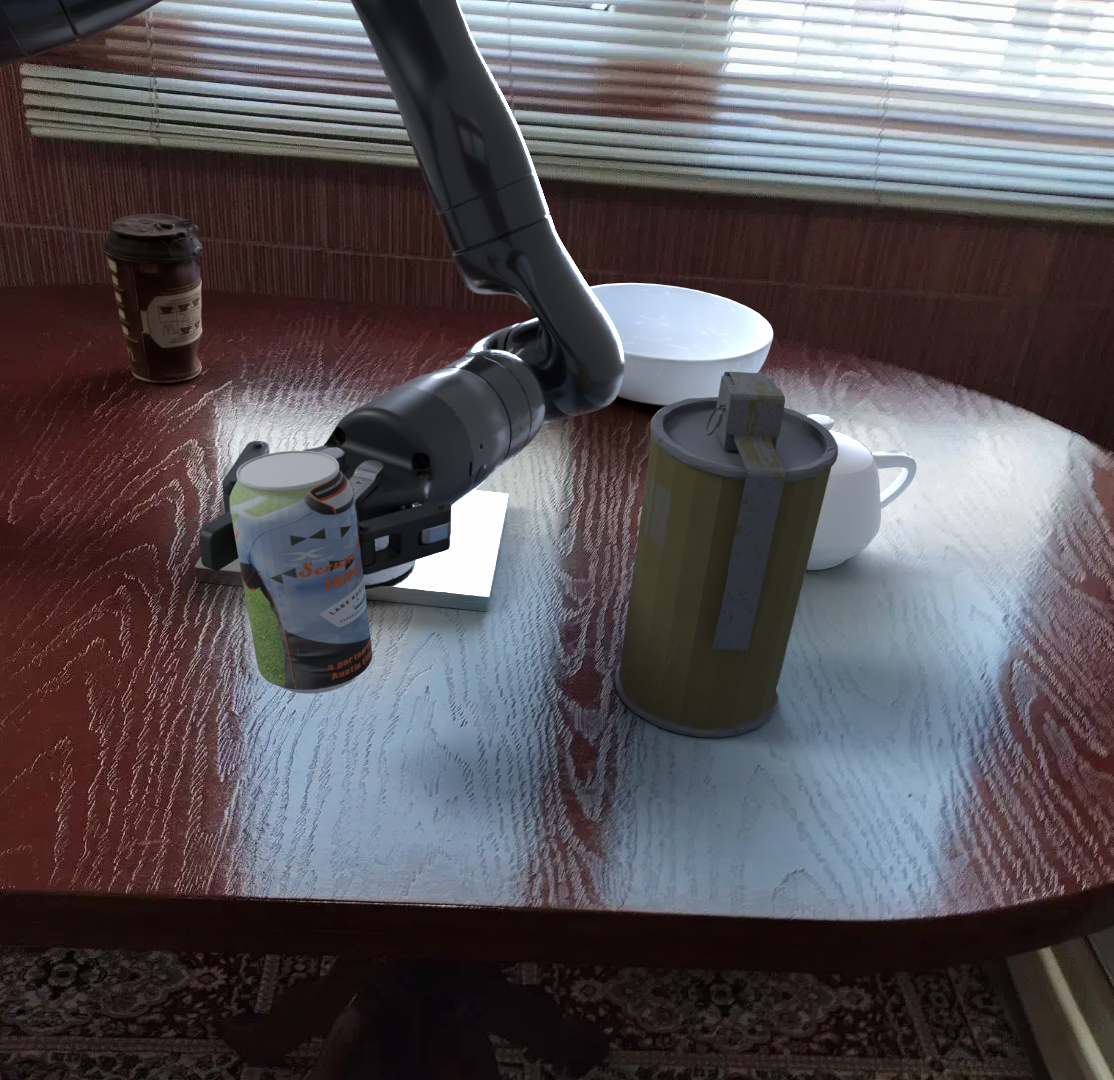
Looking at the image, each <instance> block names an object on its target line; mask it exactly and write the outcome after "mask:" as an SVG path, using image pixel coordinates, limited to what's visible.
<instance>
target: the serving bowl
mask: <svg viewBox="0 0 1114 1080" xmlns="http://www.w3.org/2000/svg"><path fill="white" fill-rule="evenodd" d="M589 288H590V289H591V291H592V292H593V294H594V295H595V297H596V298H597V299H598V301H599V302H600V304H601V305H602V307H603V308H604V310H605V311H606V313H607V315H608V316H609V318H610V320H611V321H612V323H613V325H614V327H615V329H616V331H617V333H618V335H619V338H620V341H621V345H622V348H623V352H624V360H625V372H624V380H623V384H622V387H621V390H620V392H619V394H618V396H617V397H619V398H621V399H626V400H629V401H633V402H638V403H642V404H648V405H656V406H667V405H670V404H673V403H676V402H679V401H682V400H685V399H688V398H707V397H718V395H719V389H720V383H721V378H722V376H724V373H725V372H746V373H760V370H761V369H762V367H763V365H764V364H765V362H766V359H767V357H768V356H769V355H768V354H769V352H770V349H771V346H772V344H773V343H772V342H773V340H774V330H773V327H772V325H771V324H770V323H769V321H768V320H767V319H766V318H765V317H764V316H762V315H761V314H760V313H759V312H757V311H755V310H753V309H752V308H750V307H748V306H746V305H744V304H741V303H739V302H737V301H734V300H732V299H730V298H727V297H723V296H720V295H717V294H713V293H709V292H705V291H702V290H701V291H700V290H697V289H691V288H686V287H680V286H674V285H666V284H656V283H637V282H626V283H625V282H623V283H605V284H598V285H592V286H589Z"/></svg>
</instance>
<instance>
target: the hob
mask: <svg viewBox="0 0 1114 1080" xmlns="http://www.w3.org/2000/svg"><path fill="white" fill-rule="evenodd" d="M509 497H510V495H509V493H503V492H495V491H494V492H493V491H483V490H477V489H475V490H473V491H472V492H471V493H469V494H468V495H466V496H465V497H463V498H462V499H461V500H459V501H458V502H456V503H455V504H454V505H452V514H451V518H452V525H451V537H450V549H449V550H447V551H444V552H441V553H438V554H434V555H431V556H428V557H425V558H421V559H418V560H415V561H411V562H408V563H405V564H402V565H398V566H395V567H392V568H388V569H385V570H382V571H379V572H375V573H372V574H368V575H363V576H364V585H365V594H366V600H370V601H371V600H372V601H380V602H391V603H398V604H399V603H401V604H407V605H408V604H409V605H419V606H429V607H437V608H438V607H439V608H448V609H456V610H467V611H477V612H486V613H488V612H489V609H490V604H491V599H492V593H493V589H494V584H495V583H494V582H495V578H496V572H497V567H498V562H499V556H500V551H501V546H502V541H503V535H504V529H505V524H506V519H507V514H508V509H509V499H510V498H509ZM388 543H389V535H388V536H384V537H381V538H377V539H375V551H378V550H381V549H384V548H386V547H387V546H388ZM194 576H195V582H197V583H206V584H216V585H226V586H234V587H235V586H236V587H244V585H243V580H242V574H241V568H240V562H239V558H238V559H236V560H235V561H233V562H232V563H230V564H228V565H227V566H225V567H223V568H222V569H220V570H218V571H215V570H213V569H210V568H207V567H205V566H203V565H202V562H201V556H199V558H198V560H197V562H196V564H195V565H194Z"/></svg>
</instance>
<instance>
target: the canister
mask: <svg viewBox="0 0 1114 1080" xmlns="http://www.w3.org/2000/svg"><path fill="white" fill-rule="evenodd" d="M785 404H786V395H785V394H784V393H783V391H782V389H781V388H780V387H777V385H776V383H775V381H774V380H773V378H768V377H767V375H766V373H761V372H758V373H746V372H725V373H724V376H722V378H721V383H720V389H719V395H718V397H707V398H688V399H685V400H682V401H679V402H676V403H673V404H670V405H664V406H663V407H661V408H660V409H659V410H658V411H657V412H656V413H655V414H654V415H653V416H652V418H651V421H650V425H649V429H650V435H651V436H650V437H651V439H650V440H651V441H650V447H649V454H648V460H647V461H648V462H647V468H646V476H645V483H644V491H643V498H642V504H641V505H642V506H641V512H640V520H639V527H638V534H637V541H636V547H635V548H636V549H635V556H634V562H633V569H632V577H631V583H630V589H629V590H630V593H629V598H628V606H627V613H626V619H625V627H624V634H623V641H622V648H621V654H620V655H621V656H620V662H619V663H618V664H617V666H616V668H615V675H614V683H615V690H616V692H617V694H618V696H619V698H620V699H621V701H622V702H623V703H624V704H625V705H626V706H627V707H628V708H629V709H630V710H631V711H632V712H633V713H634V714H635V715H636V716H638V717H640V718H641V719H644V720H645V721H647V722H649V723H650V724H652V725H654V726H656V727H658V728H660V729H662V730H663V729H664V730H667V731H670V732H674V733H677V734H681V735H686V736H689V737H698V738H711V739H712V738H713V739H719V738H725V737H731V736H739V735H744V734H746V733H748V732H751V731H753V730H756V729H758V728H759V727H761V726H763V725H764V724H765V723H767V722H768V721H769V720H770V719H771V718H772V717H773V715H774V713H775V711H776V709H777V706H778V702H779V701H778V700H779V696H778V690H777V689H778V685H779V681H780V678H781V677H780V676H781V672H782V668H783V665H784V660H785V657H786V652H787V648H788V645H789V640H790V638H791V633H792V628H793V625H794V620H795V616H796V612H797V608H798V604H799V601H800V596H801V592H802V587H803V585H804V580H805V576H806V571H807V570H806V568H807V564H808V560H809V556H810V552H811V548H812V544H813V540H814V535H815V531H816V527H817V523H818V519H819V515H820V511H821V507H822V503H823V499H824V495H825V491H826V487H827V483H828V479H829V475H830V471H831V467H832V466H833V465H834V463H835V462H836V459H837V456H838V446H837V443H836V440H835V438H834V436H833V435H832V434H831V432H830V431H829V430H828V429H826V428H825V427H823V426H822V425H821V424H819V423H818V422H816V421H815V420H813V419H811V418H809V417H807V416H808V415H805V414H803V413H801V412H799V411H796V410H795V409H791V408H787V407H785Z"/></svg>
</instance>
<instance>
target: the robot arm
mask: <svg viewBox="0 0 1114 1080" xmlns="http://www.w3.org/2000/svg"><path fill="white" fill-rule="evenodd" d="M162 1H164V0H0V67H4V66H7V65H8V66H9V65H10V64H11V65H12V64H15V63H18V62H22V61H26V60H28V59H29V58H30V59H32V58H34V57H37V56H40V55H43V54H46V53H50V52H52V51H55V50H59V49H62V48H64V47H68V46H71V45H73V44H77V43H78V42H79V40H80V41H85V40H87V39H90V38H93V37H96V36H97V35H100V34H102V33H104V32H107V31H109V30H111V29H114V28H116V27H118V26H120V25H121V24H124V23H125V22H127V21H129V20H131V19H133V18H134V17H136V16H138V15H140V14H142V13H144V12H145V11H147V10H149V9H150V8H153V6H156V5H157V4H159V3H161V2H162ZM350 2H351V4H352V7H353V9H354V10H355V13H356V15H357V16H358V18H359V21H360V23H361V25H362V27H363V29H364V31H365V34H366V36H367V38H368V40H369V42H370V44H371V46H372V49H373V50H374V53H375V56H376V57H377V59H378V62H379V64H380V67H381V68H382V71H383V73H384V76H385V78H386V82H387V84H388V86H389V88H390V91H391V94H392V96H393V99H394V101H395V105H396V106H397V109H398V112H399V114H400V117H401V120H402V122H403V125H404V128H405V130H406V133H407V137H408V139H409V142H410V145H411V147H412V150H413V153H414V155H415V158H416V161H417V164H418V166H419V170H420V172H421V175H422V178H423V180H424V183H425V186H426V189H427V191H428V194H429V197H430V200H431V202H432V206H433V208H434V210H435V213H436V216H437V218H438V222H439V224H440V227H441V230H442V232H443V235H444V237H445V240H446V243H447V246H448V248H449V250H450V252H451V253H452V258H453V261H454V264H455V266H456V268H457V271H458V274H459V275H460V278H461V279H462V282H463V283H464V285H465V287H466V288H467V290H469V291H470V292H471V293H474V294H476V295H477V294H478V295H485V296H490V295H492V296H493V295H494V296H495V295H508V296H513V297H516V298H518V299H519V300H520V301H521V302H523V304H525V305H526V307H527V308H528V309H529V310H530V311H531V312H532V314H533V315H534V316H535V317H534V318H532V319H528V320H525V321H523V322H519V323H515V324H512V325H509V326H505V327H503V328H501V329H498V330H496V331H494V332H492V333H489V334H488V335H486V336H484V337H482V338H481V339H479V340H477V341H476V342H475V343H474V344H473V345H471V347H469V349H467V351H466V352H465V353H464V354H463V355H462V356H461V357H459V358H457V359H455V360H454V361H451V362H449V363H448V364H446V365H444V366H442V367H441V368H439V369H437V370H434V371H432V372H428V373H425V374H421V375H419V376H415V377H413V378H411V379H409V380H407V381H406V382H404V383H402V384H400V385H399V386H396V387H395V388H393V389H391V390H389V391H387V392H385V393H383V394H381V395H379V396H377V397H376V398H374V399H372V400H370V401H368V402H366V403H365V404H363V405H360V406H359V407H357V408H355V409H353V410H352V411H350V412H348V413H347V414H346V415H344V416H343V417H342V418H341V419H340V420H339V422H338V423H337V425H336V426H335V427H334V428H333V431H332V432H331V434H330V436H329V437H328V438H327V440H326V441H325V442H324V444H323V445H320V446H317V447H313V448H307V449H303V450H302V451H313V452H319V453H324V454H327V455H329V456H332V457H333V458H335V459H336V460H337V461H338V463H339V470H340V471H341V472H342V473H343V474H344V476H345V477H346V478H347V479H348V480H349V482H350V483H351V485H352V487H353V491H354V497H355V506H356V515H357V523H358V532H359V541H360V550H361V559H362V567H363V575H368V574H372V573H375V572H379V571H382V570H385V569H388V568H392V567H395V566H398V565H402V564H405V563H408V562H411V561H415V560H418V559H421V558H425V557H428V556H431V555H434V554H438V553H441V552H444V551H447V550H449V549H450V537H451V525H452V518H451V514H452V505H454V504H455V503H456V502H458V501H459V500H461V499H462V498H463V497H465V496H466V495H468V494H469V493H471V492H472V491H473V490H477V489H478V488H479V487H480V486H481V485H482V484H483V483H485V482H486V480H487V479H488V478H489V477H490V476H491V475H492V474H493V473H494V472H495V471H496V470H497V469H498V468H500V467H501V466H503V465H504V464H506V463H507V462H508V461H510V460H512V458H515V457H516V456H517V455H519V453H521V452H522V451H523V450H525V449H526V448H527V447H528V446H529V445H530V444H531V443H532V441H533V440H534V439H536V436H537V435H538V433H539V432H540V430H541V429H542V426H543V425H545V424H549V423H553V422H558V421H562V420H565V419H569V418H573V417H577V416H581V415H586V414H590V413H594V412H597V411H599V410H603V409H605V408H607V407H608V406H609V405H611V404H612V403H613V402H614V401H615V400H616V399H617V397H619V396H618V394H619V392H620V390H621V387H622V384H623V380H624V372H625V360H624V352H623V348H622V345H621V341H620V338H619V335H618V333H617V331H616V329H615V327H614V325H613V323H612V321H611V320H610V318H609V316H608V315H607V313H606V311H605V310H604V308H603V307H602V305H601V304H600V302H599V301H598V299H597V298H596V297H595V295H594V294H593V292H592V291H591V289H590V288H589V287H590V286H589V285H588V283H587V281H586V280H585V279H584V277H583V275H582V274H581V272H580V271H579V269H578V267H577V265H576V264H575V262H574V260H573V259H572V257H571V255H570V254H569V252H568V251H567V249H566V247H565V246H564V244H563V242H562V240H561V239H560V237H559V235H558V233H557V230H556V228H555V225H554V223H553V219H552V216H551V215H550V211H549V207H548V204H547V202H546V199H545V196H544V193H543V189H542V187H541V184H540V181H539V178H538V175H537V173H536V170H535V167H534V163H533V161H532V157H531V155H530V152H529V149H528V147H527V145H526V142H525V139H524V138H523V135H522V133H521V130H520V127H519V125H518V123H517V121H516V118H515V117H514V115H513V113H512V110H511V109H510V107H509V105H508V103H507V101H506V99H505V96H504V95H503V93H502V91H501V89H500V88H499V86H498V84H497V81H495V79H494V76H493V74H492V73H491V71H490V69H489V67H488V66H487V64H486V62H485V60H484V58H483V56H482V55H481V53H480V51H479V49H478V46H477V45H476V42H475V40H474V38H473V36H472V34H471V32H470V29H469V26H468V24H467V21H466V19H465V16H464V14H463V12H462V9H461V7H460V4H459V1H458V0H350ZM266 454H271V453H270V444H269V443H268V442H266V441H263V440H253V441H250V442H248V443H247V444H246V445H245V447H244V448H243V450H242V452H241V453H240V454H239V456H238V457H237V458H236V460H235V462H234V463H233V465H232V466H231V468H230V469H229V471H228V472H227V474H226V476H225V477H224V478H223V480H222V482H221V484H222V497H223V508H224V513H222V514H221V515H219V516H217V517H216V518H213V519H212V520H211V521H207V522H206V523H205V524H202V526H201V527H200V529H199V531H198V532H199V537H198V539H199V550H200V557H201V562H202V565H203V566H205V567H207V568H210V569H213V570H215V571H218V570H220V569H222V568H223V567H225V566H227V565H228V564H230V563H232V562H233V561H235V560H236V559H238V558H239V557H238V551H237V545H236V540H235V534H234V528H233V523H232V517H231V511H230V505H229V500H230V495H231V492H232V490H233V488H234V486H235V484H236V482H237V480H238V479H237V470H238V468H239V467H240V466H241V465H242V464H244V463H245V462H247V461H249V460H251V459H253V458H256V457H259V456H262V455H266ZM388 535H389V543H388V546H387V547H386V548H384V549H381V550H378V551H375V539H377V538H381V537H384V536H388Z"/></svg>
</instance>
